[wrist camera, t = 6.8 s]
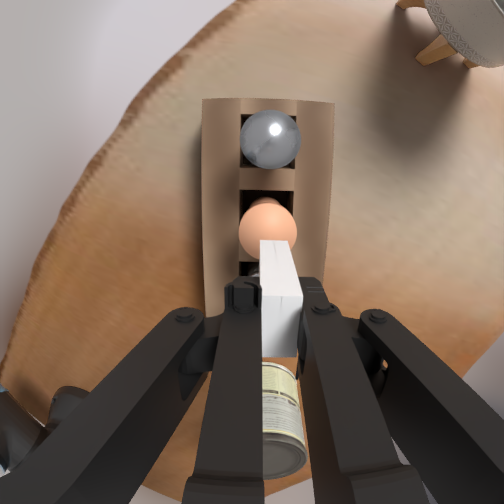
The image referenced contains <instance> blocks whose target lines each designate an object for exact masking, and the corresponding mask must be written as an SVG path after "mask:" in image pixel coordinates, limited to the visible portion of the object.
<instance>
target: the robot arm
mask: <svg viewBox="0 0 504 504" xmlns="http://www.w3.org/2000/svg"><path fill="white" fill-rule="evenodd" d="M224 302H225V309H224V312H223V313H222V314H220V315H217V316H213V317H207V318H204V315H203V313H202V312H201V311H200V310H198V309H195V308H188V307H184V308H183V307H182V308H178V309H175V310H172V311H171V312H170V313H168V314H167V315H166V316H165V317H164V318H163V319H162V320H161V321H160V322H159V323H158V324H157V325H156V326H155V327H154V328H153V329H152V330H151V331H150V332H149V333H148V334H147V335H146V336H145V337H144V338H143V339H142V340H141V341H140V342H139V343H138V344H137V345H136V346H135V347H134V348H133V349H132V350H131V351H130V352H129V353H128V354H127V355H126V357H125V358H124V359H123V360H122V361H121V362H120V363H119V364H118V365H117V366H116V367H115V368H114V369H113V370H112V371H111V372H110V373H109V374H108V375H107V376H106V377H105V378H104V379H103V380H102V381H101V382H100V383H99V384H98V385H97V386H96V387H95V388H94V389H93V390H92V391H91V392H90V393H89V392H87V391H85V390H83V389H80V388H77V387H72V386H64V387H61V388H59V389H58V390H57V392H56V393H55V395H54V396H53V398H52V402H51V407H50V412H49V417H48V422H47V424H46V426H45V427H43V426H42V425H41V424H40V423H39V422H38V421H37V420H35V419H34V418H33V417H32V416H31V415H30V414H29V413H28V412H27V411H26V410H25V409H24V408H23V407H22V406H21V405H20V404H19V402H18V401H17V400H16V399H15V398H14V397H13V396H12V395H11V394H10V393H9V391H8V389H5V388H4V387H3V386H2V385H1V384H0V475H4V473H5V471H6V470H7V469H8V470H9V471H10V473H8V474H6V475H4V476H2V477H0V504H129V502H130V501H131V499H132V498H133V496H134V494H135V493H136V491H137V490H138V488H139V487H140V485H141V484H142V482H143V481H144V479H145V477H146V476H147V474H148V473H149V471H150V469H151V468H152V466H153V465H154V463H155V462H156V460H157V458H158V457H159V455H160V454H161V452H162V450H163V449H164V447H165V446H166V444H167V442H168V441H169V439H170V437H171V436H172V434H173V433H174V431H175V429H176V428H177V426H178V424H179V423H180V421H181V420H182V418H183V416H184V415H185V413H186V411H187V410H188V408H189V406H190V405H191V403H192V401H193V400H194V398H195V396H196V395H197V393H198V392H199V390H200V388H201V387H202V385H203V383H204V381H205V380H206V378H207V376H208V372H209V371H212V375H211V380H210V385H209V391H208V396H207V401H206V407H205V412H204V417H203V423H202V428H201V434H200V439H199V445H198V450H197V456H196V461H195V467H194V472H193V474H192V476H190V477H188V479H187V481H186V484H185V488H184V493H183V498H182V504H264V481H263V398H262V357H296V356H297V348H298V353H299V356H298V363H297V371H296V378H295V380H298V378H299V381H300V387H301V395H302V402H303V409H304V416H305V424H306V431H307V439H308V447H309V455H310V463H311V471H312V480H313V488H314V497H315V504H430V503H429V500H428V498H427V494H426V491H425V489H424V486H423V483H424V484H425V485H426V487H427V488H428V490H429V491H430V493H431V494H432V496H433V497H434V498H435V500H436V501H437V503H438V504H504V420H503V419H502V418H501V417H500V416H499V415H498V414H497V413H496V412H495V411H494V410H493V409H492V408H491V407H490V406H489V405H488V404H487V403H486V402H485V401H484V400H483V399H482V398H481V397H480V396H479V395H478V394H477V393H476V392H475V391H474V390H473V389H472V388H471V387H470V386H469V385H468V384H466V383H465V382H464V381H463V380H462V379H461V378H460V377H459V376H458V375H457V374H456V373H455V372H454V371H453V370H452V369H451V368H450V367H448V366H447V365H446V364H445V363H444V362H443V361H442V360H441V359H440V358H439V357H438V356H437V355H436V354H434V353H433V352H432V351H431V350H430V349H429V348H428V347H427V346H426V345H425V344H424V343H422V342H421V341H420V340H419V339H418V338H417V337H416V336H415V335H414V334H412V333H411V332H410V331H409V330H408V329H407V328H406V327H405V326H403V325H402V324H401V323H400V322H399V321H398V320H397V319H396V318H394V317H393V316H392V315H391V314H389V313H388V312H385V311H383V310H380V309H378V310H377V309H368V310H365V311H363V312H362V313H361V315H360V319H354V318H348V317H344V316H342V315H341V312H340V310H339V309H338V307H337V306H335V305H334V304H332V303H329V301H328V298H327V296H326V294H325V292H324V289H323V286H322V284H321V282H320V281H319V280H318V279H316V278H315V277H298V276H297V272H296V269H295V265H294V261H293V258H292V255H291V251H290V248H289V244H288V241H281V240H260V258H259V277H253V276H238V277H236V278H235V279H234V280H233V282H230V283H228V284H226V286H225V287H224ZM384 360H385V361H386V362H387V364H388V367H387V368H385V367H384V366H383V361H384ZM391 437H392V438H393V440H394V441H395V443H396V444H397V445H398V447H399V448H400V450H401V451H402V453H403V454H404V455H405V457H406V458H407V460H408V461H409V463H410V464H411V465H403V464H402V463H401V462H400V460H399V458H398V455H397V452H396V450H395V447H394V444H393V441H392V438H391ZM422 481H423V483H422Z"/></svg>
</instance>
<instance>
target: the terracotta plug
mask: <svg viewBox="0 0 504 504" xmlns="http://www.w3.org/2000/svg"><path fill="white" fill-rule="evenodd" d="M296 237H297V228H296V224H295V221H294V219H293V217H292V215H291V214H290V212H289V211H288V210H287V209H286V208H284V207H283V206H281V204H280V203H279V202H278V201H277V200H276V199H274V198H272V197H269V196H262V197H259V198H257V199H255V200H254V201H253V202H252V203H251V205H250V207H249V209H248V210H247V211H246V212H245V214H244V215H243V217H242V219H241V222H240V226H239V240H240V243H241V245H242V247H243V248H244V250H245V251H246V252H247V253H248V254H249V255H251V256H252V257H254V258H256V259H259V258H260V240H281V241H288V244H289V248H290V250H291V249H292V247H293V246H294V244H295V241H296Z"/></svg>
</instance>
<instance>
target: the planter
mask: <svg viewBox="0 0 504 504" xmlns="http://www.w3.org/2000/svg"><path fill="white" fill-rule="evenodd" d="M396 4H397V5H398V6H399V7H401V8H402V9H403V10H405V9H406V8H409V7H422V8H426V9H427V11H428V13H429V15H430V17H431V19H432V21H433V23H434V24H435V26H436V27H437V29H438V30H439V32H440V33H441V34H440V35H439V36H438V37H437V38H436V39H435V40H434V41H433V42H432V43H431V44H430V45H429V46H427V47H426V48H425V49H423V50H422V51H420V52H419V53H418V54H417V56H416V58H415V59H416V60H417V61H418V62H420V63H421V64H422V65H423V66H426V65H428V64H431V63H433V62H436V61H438V60H441V59H443V58H446V57H449V56H451V55H454V54H457V53H458V52H459V53H460V54H461V55H462V56H464V57H465V59H464V61H463V63H464V64H465V65H466V66H467V67H468V68H469V69H470V68H473V67H477V66H482V67H487V68H494V67H499V66H503V65H504V0H398V2H397V3H396Z"/></svg>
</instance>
